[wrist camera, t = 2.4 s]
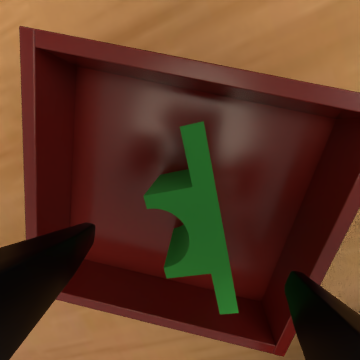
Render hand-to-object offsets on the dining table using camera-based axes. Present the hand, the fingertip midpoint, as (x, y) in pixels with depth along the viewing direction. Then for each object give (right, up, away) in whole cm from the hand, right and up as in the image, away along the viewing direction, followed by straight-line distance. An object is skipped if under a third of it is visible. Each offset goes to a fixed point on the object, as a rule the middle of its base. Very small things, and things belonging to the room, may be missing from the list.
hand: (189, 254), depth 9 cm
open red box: (0, +2, +6) cm, 7 cm away
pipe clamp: (+1, +2, +6) cm, 6 cm away
